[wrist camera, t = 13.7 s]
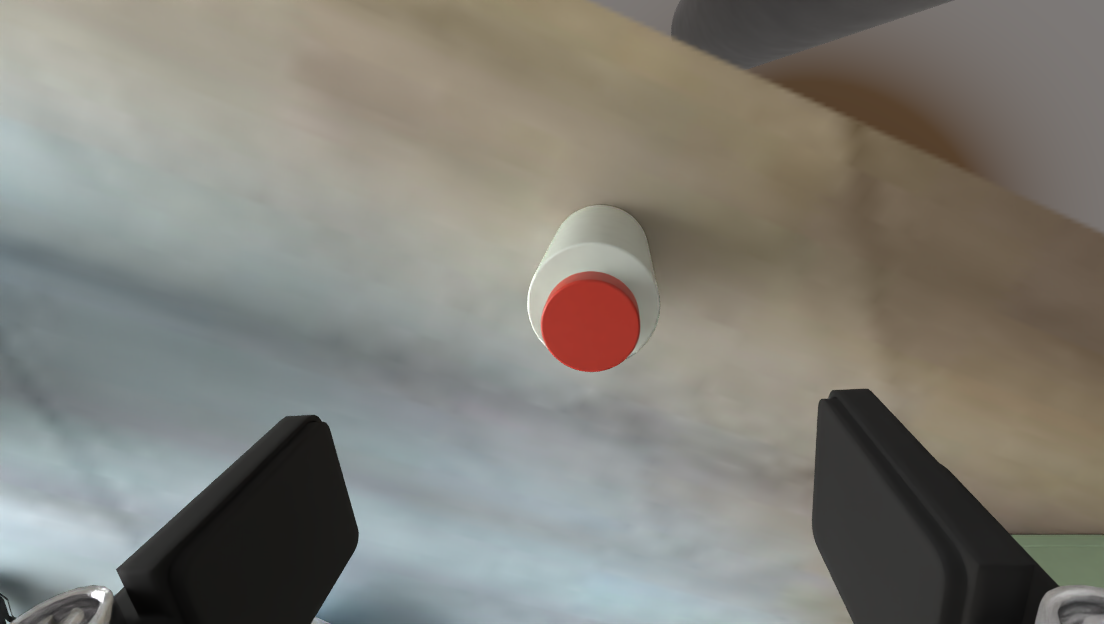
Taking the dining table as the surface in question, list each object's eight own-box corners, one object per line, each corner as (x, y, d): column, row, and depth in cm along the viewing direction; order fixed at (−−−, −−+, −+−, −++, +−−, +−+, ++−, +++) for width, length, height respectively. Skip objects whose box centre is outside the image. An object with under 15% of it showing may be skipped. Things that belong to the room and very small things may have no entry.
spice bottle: (555, 200, 24) (520, 249, 16) (654, 208, 24) (674, 263, 15) (549, 293, 26) (514, 384, 17) (642, 302, 25) (654, 400, 17)
